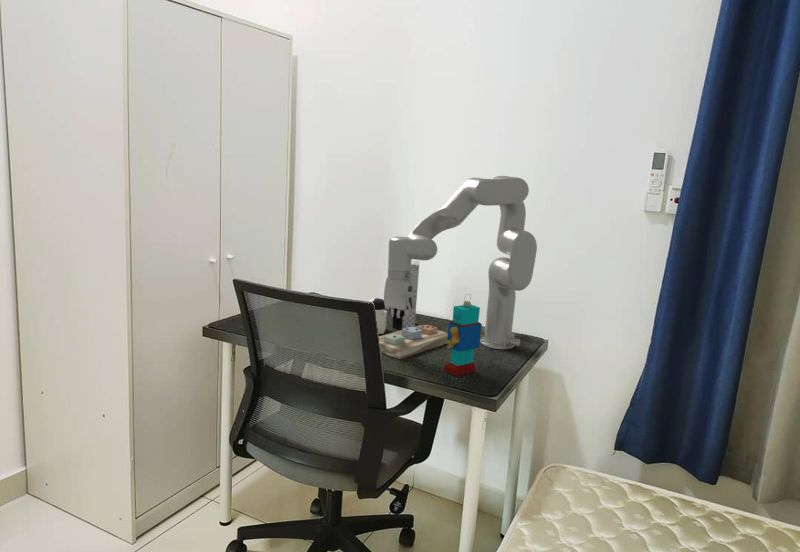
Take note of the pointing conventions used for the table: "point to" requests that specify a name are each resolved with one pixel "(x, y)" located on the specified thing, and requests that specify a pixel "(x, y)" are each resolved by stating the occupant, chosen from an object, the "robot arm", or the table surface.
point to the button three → (428, 329)
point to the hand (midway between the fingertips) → (397, 328)
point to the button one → (394, 339)
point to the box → (410, 318)
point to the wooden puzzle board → (413, 344)
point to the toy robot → (463, 338)
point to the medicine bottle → (380, 314)
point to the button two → (411, 333)
